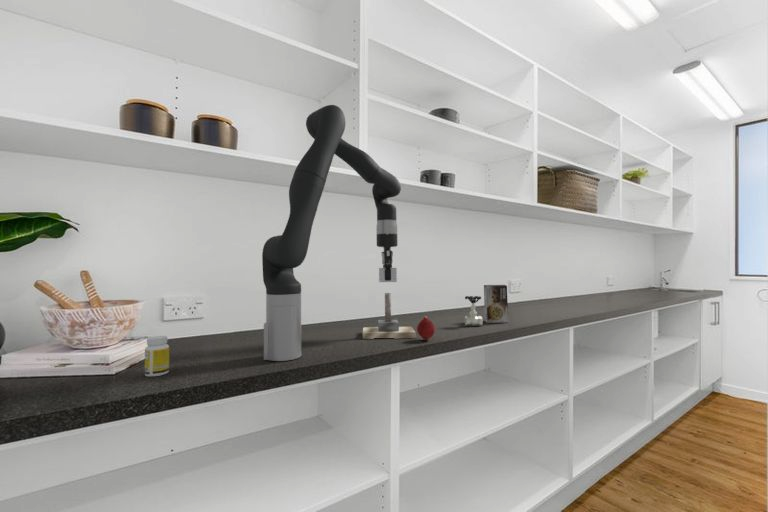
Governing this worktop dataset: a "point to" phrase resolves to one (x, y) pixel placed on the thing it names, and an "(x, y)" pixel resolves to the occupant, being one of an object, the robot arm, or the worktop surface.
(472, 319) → the valve
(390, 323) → the shaft stand
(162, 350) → the supplement bottle
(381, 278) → the block
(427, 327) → the onion
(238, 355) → the worktop surface
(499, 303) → the coffee box
